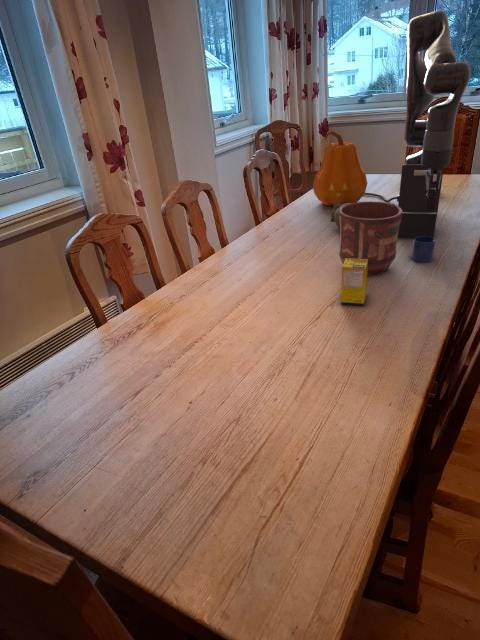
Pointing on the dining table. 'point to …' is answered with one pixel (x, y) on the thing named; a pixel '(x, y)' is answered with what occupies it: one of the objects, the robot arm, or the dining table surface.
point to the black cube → (417, 224)
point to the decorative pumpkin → (340, 174)
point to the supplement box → (354, 281)
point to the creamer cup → (423, 249)
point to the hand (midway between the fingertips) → (429, 205)
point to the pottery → (370, 233)
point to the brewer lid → (415, 189)
